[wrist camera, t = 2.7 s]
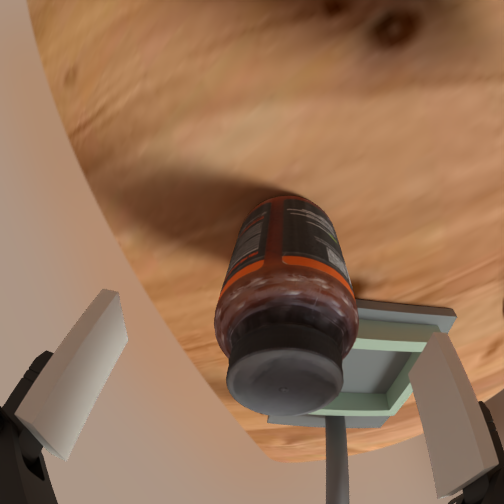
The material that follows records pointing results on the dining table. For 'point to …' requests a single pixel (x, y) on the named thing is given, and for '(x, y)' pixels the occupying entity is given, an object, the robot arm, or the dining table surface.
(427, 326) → the socket base
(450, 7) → the dining table surface
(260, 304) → the supplement bottle
